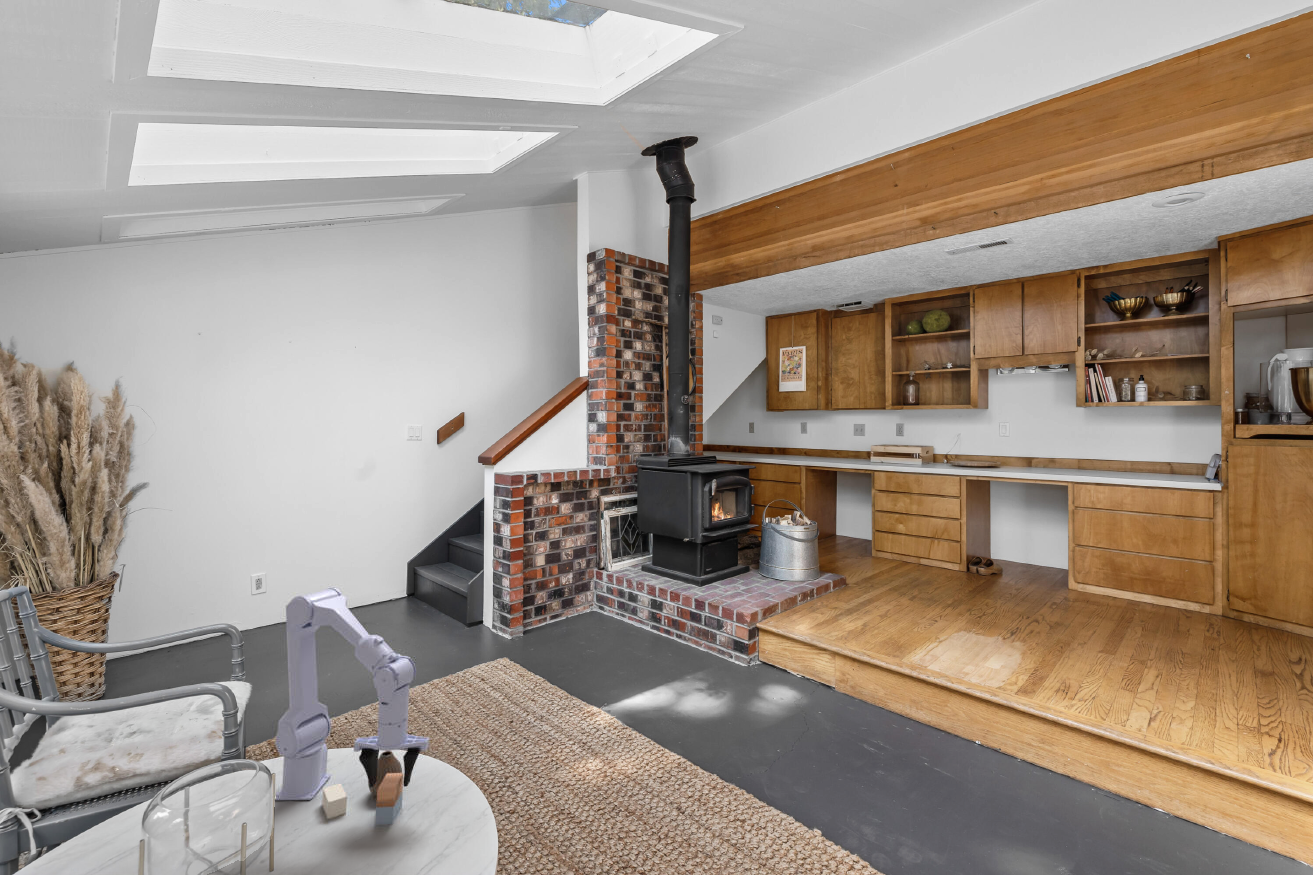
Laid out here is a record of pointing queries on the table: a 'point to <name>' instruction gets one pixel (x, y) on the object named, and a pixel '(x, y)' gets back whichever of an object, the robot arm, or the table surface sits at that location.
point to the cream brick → (334, 801)
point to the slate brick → (388, 813)
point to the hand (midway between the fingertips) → (389, 783)
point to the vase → (385, 769)
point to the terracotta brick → (390, 790)
